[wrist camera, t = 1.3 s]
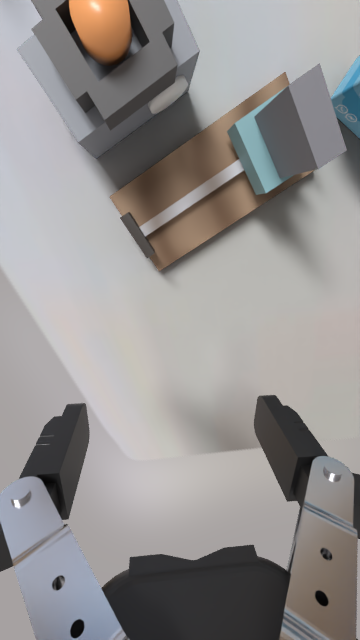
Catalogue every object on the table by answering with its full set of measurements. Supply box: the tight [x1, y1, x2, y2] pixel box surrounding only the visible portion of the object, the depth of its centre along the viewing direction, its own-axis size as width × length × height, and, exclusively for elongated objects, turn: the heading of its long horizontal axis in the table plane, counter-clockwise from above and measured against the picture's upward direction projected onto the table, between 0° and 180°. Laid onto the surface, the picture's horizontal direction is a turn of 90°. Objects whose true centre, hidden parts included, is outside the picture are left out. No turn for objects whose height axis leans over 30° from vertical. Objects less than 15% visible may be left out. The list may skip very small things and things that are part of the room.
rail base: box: [110, 72, 314, 271], centre depth 30 cm, size 22×10×4 cm, turn 122°
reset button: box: [69, 0, 132, 66], centre depth 18 cm, size 4×4×2 cm
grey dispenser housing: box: [17, 0, 200, 159], centre depth 24 cm, size 12×8×11 cm
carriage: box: [227, 63, 347, 195], centre depth 25 cm, size 6×7×10 cm
